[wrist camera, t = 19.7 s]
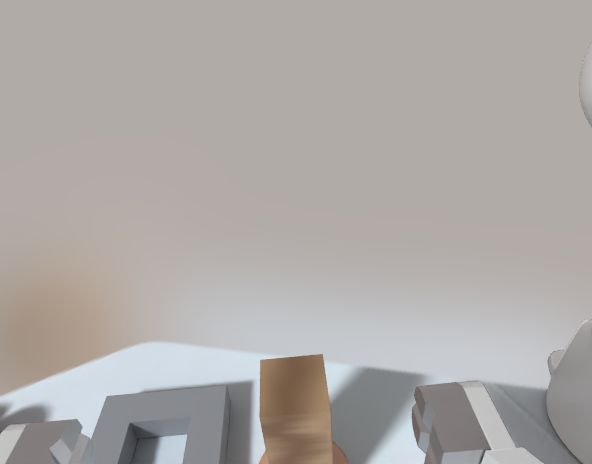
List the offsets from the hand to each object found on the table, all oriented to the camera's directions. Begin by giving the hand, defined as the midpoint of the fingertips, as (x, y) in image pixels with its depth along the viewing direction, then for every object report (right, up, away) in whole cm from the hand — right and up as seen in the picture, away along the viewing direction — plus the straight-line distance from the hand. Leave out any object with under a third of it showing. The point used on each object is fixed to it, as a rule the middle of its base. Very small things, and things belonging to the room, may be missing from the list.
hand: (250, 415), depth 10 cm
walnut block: (+2, -19, +29) cm, 34 cm away
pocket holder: (-12, -19, +31) cm, 38 cm away
